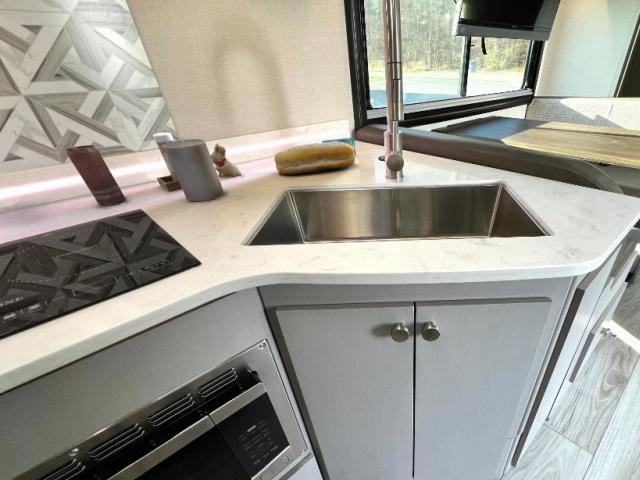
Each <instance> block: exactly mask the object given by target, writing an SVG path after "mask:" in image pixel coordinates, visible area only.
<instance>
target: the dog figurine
mask: <svg viewBox="0 0 640 480" xmlns="http://www.w3.org/2000/svg"><path fill="white" fill-rule="evenodd" d="M226 153H227V149H226V147H225V146H222V145H221V144H220V143H218V142H217V143H216V144H215V145H214V147H213V151H212V152H211V154H210V156H211V159H212V161H213V164H214V167H215V169H216V172H217V173H218V177H222V178H233V177H234V178H235V177H239V176H242V175H243V174H242V172H241V170H240V169H239V167H238V166H237V165H236V163H234V162H232V161H230V160H228V159H227V157H226Z"/></svg>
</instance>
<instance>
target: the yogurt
mask: <svg viewBox="0 0 640 480" xmlns="http://www.w3.org/2000/svg"><path fill="white" fill-rule="evenodd" d="M323 142H324V143H327V142H343V143H347V144H349V145H350V146H352V148H353V149H354V155H355V156H357V151H356V140H355V138H354V137H351V136H350V137H341V138H333V139H324V140H323V139H322V140H321V143H323Z"/></svg>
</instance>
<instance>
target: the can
mask: <svg viewBox="0 0 640 480" xmlns="http://www.w3.org/2000/svg"><path fill="white" fill-rule="evenodd" d="M66 155H67V156H68V158H69V160H70V162H71V163H72V164H73V166H74V167H75V169H76V171H77V172H78V174H79V176H80V178H81V179H82V180H83V182H84V183H85V185H86V187H87V189H88V190H89V191H90V193H91V194H92V196H93V198H94V199H95V201H96V203H97V204H98V205H100V206H102V207H110V206H115V205H119V204H122V203H123V202H125V200H126V197H125V195H124V193H123V191H122V189H121V188H120V186H119V184H118V182H117V181H116V179H115V177H114V176H113V174H112V171H111V169H110V168H109V167H108V165H107V163H106V161H105V160H104V158H103V156H102V155H101V152H100V151H99V149H98V148H97V147H95V146H94V145H93V144H92V145H91V144H89V145H88V144H87V145H86V144H85V145H78V146H72V147H68V148H66Z"/></svg>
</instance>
